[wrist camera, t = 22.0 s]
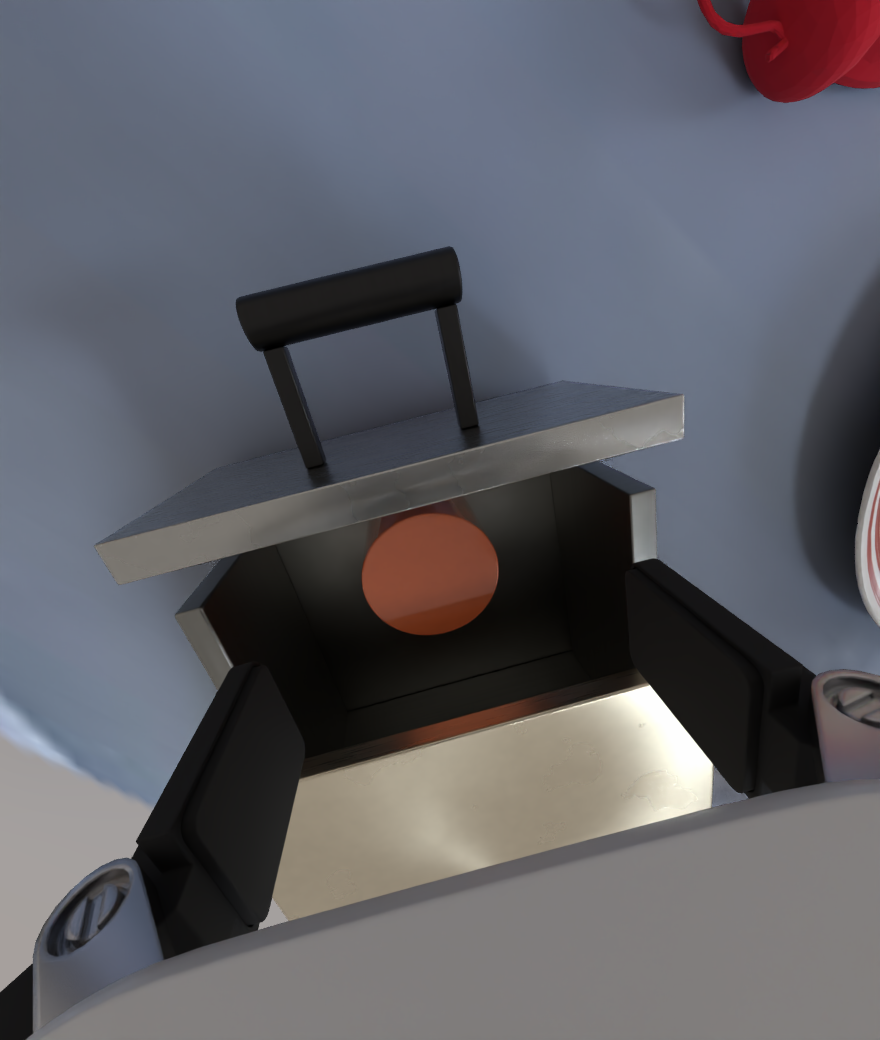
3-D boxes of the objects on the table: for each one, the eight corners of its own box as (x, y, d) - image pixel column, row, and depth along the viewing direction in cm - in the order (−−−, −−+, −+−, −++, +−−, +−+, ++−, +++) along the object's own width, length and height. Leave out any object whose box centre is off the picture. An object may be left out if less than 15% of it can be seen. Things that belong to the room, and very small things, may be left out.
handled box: (159, 345, 15) (-44, 332, 8) (550, 250, 16) (687, 157, 9) (327, 712, 23) (300, 876, 16) (590, 641, 23) (682, 768, 16)
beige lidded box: (281, 620, 21) (206, 807, 12) (584, 540, 22) (720, 664, 13) (368, 807, 27) (358, 1023, 18) (604, 741, 28) (706, 920, 19)
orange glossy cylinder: (465, 468, 17) (486, 497, 14) (486, 567, 19) (509, 616, 16) (351, 497, 17) (342, 534, 14) (384, 594, 19) (383, 650, 15)
